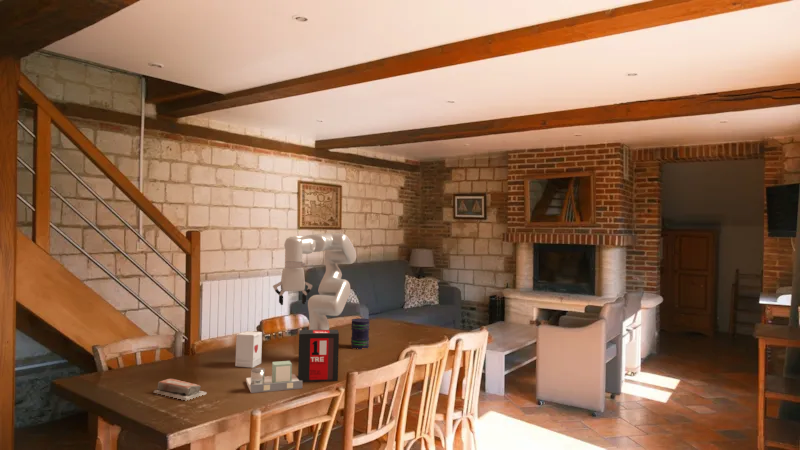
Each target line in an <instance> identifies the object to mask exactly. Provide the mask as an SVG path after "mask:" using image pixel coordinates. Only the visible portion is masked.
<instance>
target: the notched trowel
mask: <svg viewBox="0 0 800 450" xmlns="http://www.w3.org/2000/svg"><path fill="white" fill-rule="evenodd" d="M201 387H202V386H201V385H200V384H196V383H191V382H187V381H184V380H183V381H182V380H179V379H175V378H167V379H164V380H161V381H158V382H157V388H156V389H154V390H153V393H157V394H156V395H158V394H161V395H160V396H162V395H165V396H164V397H166V396H169V397H168V398H170V397H173V398H172V399H174V398H177V399H176V400H178V399H181V400H180V401H183V400H185V401H184V402H186V401H187V400H188V401H190V399H191V400H194V399H197V398H200V397H202V395H203V396H205V395H207V393H208V392H207V391H203V390H201ZM199 396H200V397H199ZM196 397H197V398H196ZM193 398H194V399H193ZM188 401H187V402H188Z"/></svg>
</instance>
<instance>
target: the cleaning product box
mask: <svg viewBox="0 0 800 450" xmlns="http://www.w3.org/2000/svg"><path fill="white" fill-rule="evenodd" d="M339 341H340V334H339V330H338V329H329V330H309V329H299V333H298V359H297V360H298V361H297V362H298V366H297V367H298V368H297V370H298V371H297V378H298V379H299V381H303V383H313V382H315V383H317V382H338V381H339V351H340V350H339V345H340V342H339Z"/></svg>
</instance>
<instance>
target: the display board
mask: <svg viewBox="0 0 800 450" xmlns="http://www.w3.org/2000/svg"><path fill="white" fill-rule="evenodd" d="M245 381H246V385H247V387H248V390H249V391H250V393H251V394H257V393H265V392H266V393H268V392H278V391H289V390H298V389H299V390H300V389H303V383H304V382H303V381H299V379H298V376H297V375H296V373H292V381H290V382H279V383H272V375H267V376H265V378H264V384H256V385H251V377H246V378H245Z"/></svg>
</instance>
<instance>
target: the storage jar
mask: <svg viewBox="0 0 800 450" xmlns="http://www.w3.org/2000/svg"><path fill="white" fill-rule="evenodd" d="M350 325H351V337H350V343H351V344H350V345H351V346H350V348H351V347H352V348H351V349H353V348H358V349H357V350H363V349H362V348H367V349H369V348H370V337H369V336H370V334H369V333H370V319H369V318H359V317H358V318H352V319H351V324H350ZM368 347H369V348H368Z"/></svg>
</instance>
